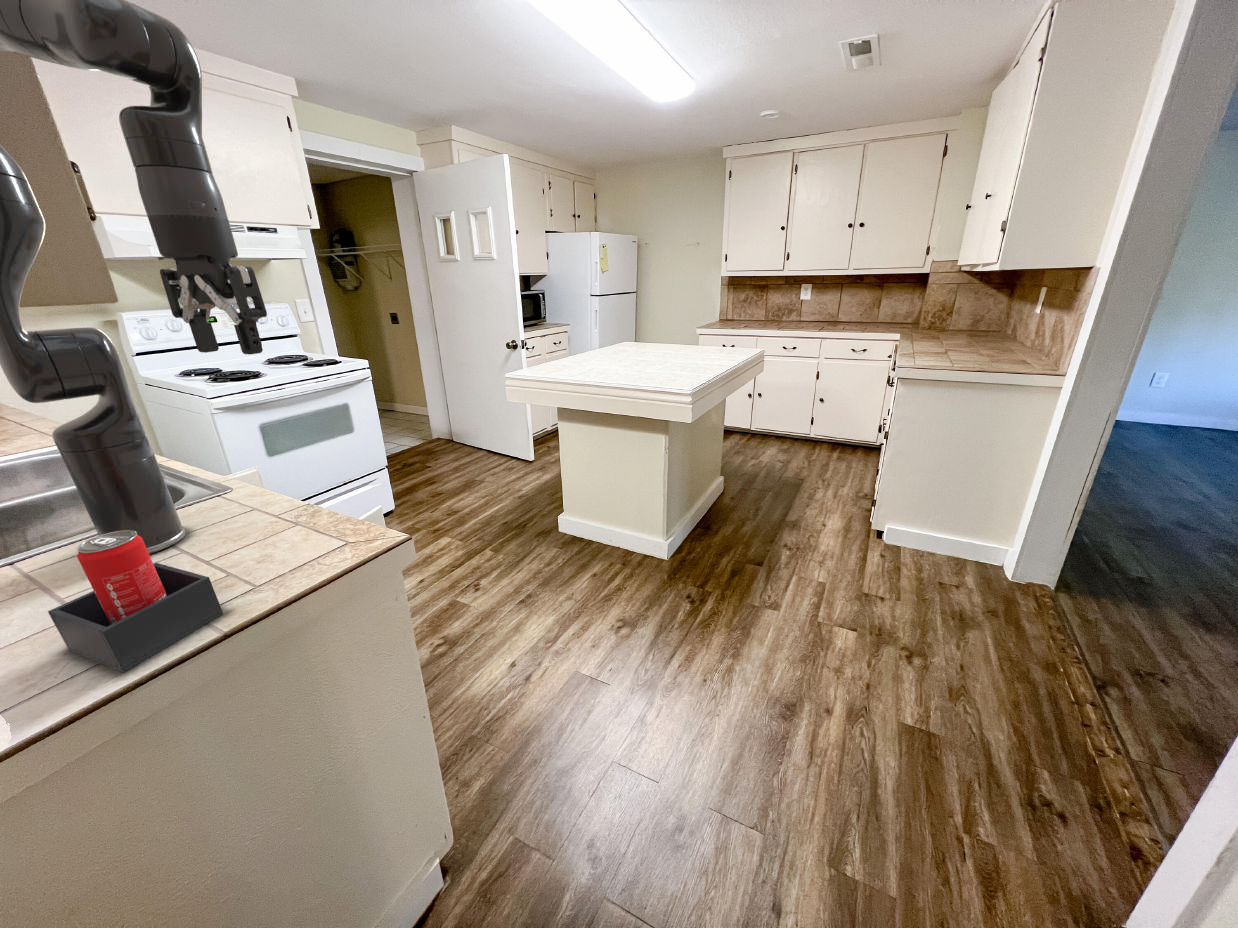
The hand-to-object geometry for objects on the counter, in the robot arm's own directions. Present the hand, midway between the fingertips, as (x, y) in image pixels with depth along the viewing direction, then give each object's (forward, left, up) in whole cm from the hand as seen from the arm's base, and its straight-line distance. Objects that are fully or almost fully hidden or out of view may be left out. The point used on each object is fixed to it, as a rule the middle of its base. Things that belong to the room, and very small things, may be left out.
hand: (230, 352), depth 64 cm
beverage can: (+1, -19, -30) cm, 35 cm away
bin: (+1, -19, -30) cm, 36 cm away
